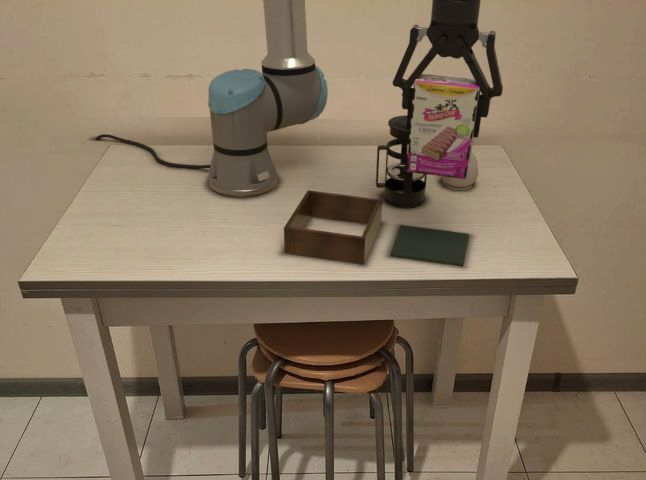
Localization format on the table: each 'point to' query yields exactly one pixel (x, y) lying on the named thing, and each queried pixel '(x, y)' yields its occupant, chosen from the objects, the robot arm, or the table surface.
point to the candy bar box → (442, 125)
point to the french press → (400, 170)
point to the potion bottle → (463, 183)
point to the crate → (329, 242)
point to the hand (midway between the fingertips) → (442, 131)
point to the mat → (430, 245)
